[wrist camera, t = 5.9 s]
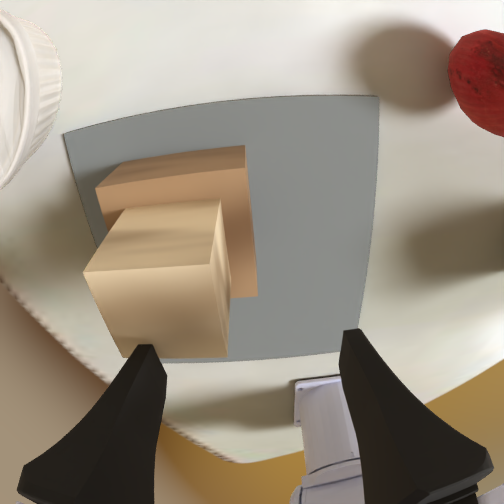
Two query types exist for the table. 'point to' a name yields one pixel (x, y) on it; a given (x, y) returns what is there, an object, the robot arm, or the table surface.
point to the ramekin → (25, 91)
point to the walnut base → (192, 198)
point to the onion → (480, 78)
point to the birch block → (165, 280)
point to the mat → (270, 206)
